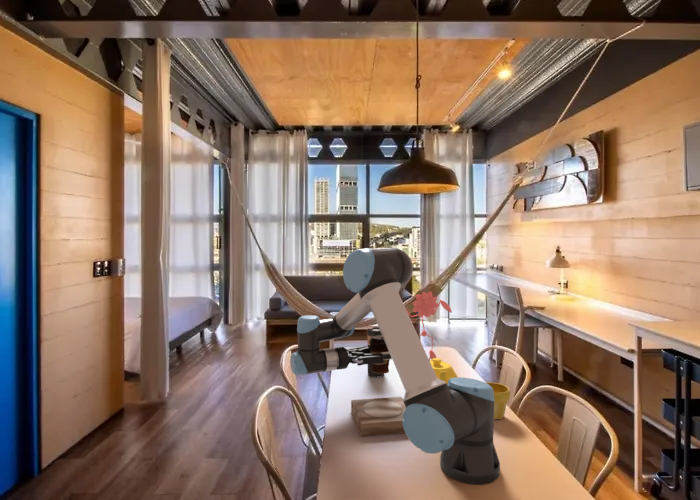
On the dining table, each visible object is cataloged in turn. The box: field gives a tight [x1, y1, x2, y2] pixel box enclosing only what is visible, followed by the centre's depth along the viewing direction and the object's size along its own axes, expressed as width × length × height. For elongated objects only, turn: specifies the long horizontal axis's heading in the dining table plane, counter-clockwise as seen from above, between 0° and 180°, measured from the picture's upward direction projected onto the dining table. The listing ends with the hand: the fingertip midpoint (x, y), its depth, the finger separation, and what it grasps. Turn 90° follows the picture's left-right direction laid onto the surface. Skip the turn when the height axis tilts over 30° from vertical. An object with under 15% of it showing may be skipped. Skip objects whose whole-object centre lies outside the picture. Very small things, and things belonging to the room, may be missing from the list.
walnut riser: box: [350, 396, 406, 438], centre depth 136 cm, size 18×18×4 cm
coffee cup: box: [369, 335, 391, 375], centre depth 152 cm, size 9×8×13 cm
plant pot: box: [484, 381, 511, 420], centre depth 140 cm, size 10×10×10 cm
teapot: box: [430, 357, 458, 384], centre depth 158 cm, size 25×18×14 cm
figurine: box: [406, 291, 452, 361], centre depth 191 cm, size 15×26×35 cm, turn 100°
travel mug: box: [366, 326, 385, 378], centre depth 180 cm, size 8×8×20 cm
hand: (392, 351), depth 154 cm, fingers closed on coffee cup, 7 cm apart
